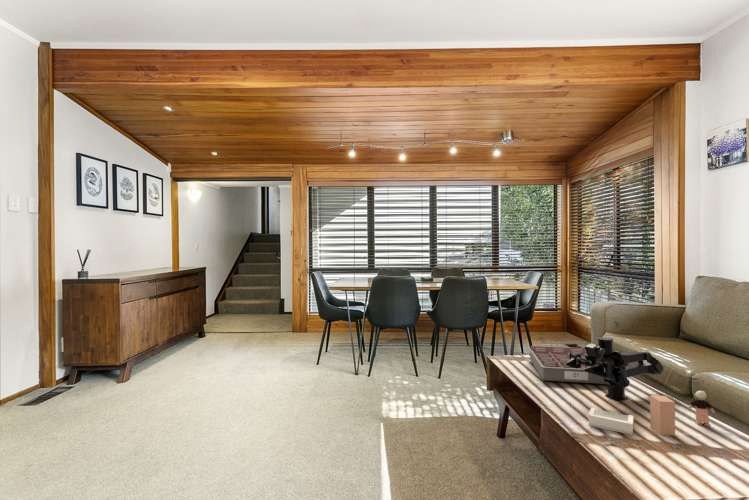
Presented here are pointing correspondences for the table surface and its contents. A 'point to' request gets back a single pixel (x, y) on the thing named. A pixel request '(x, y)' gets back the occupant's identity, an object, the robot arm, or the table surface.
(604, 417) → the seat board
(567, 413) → the table surface
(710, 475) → the table surface
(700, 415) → the grandmother figurine
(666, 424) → the tall peach block
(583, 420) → the table surface
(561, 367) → the organizer tray
